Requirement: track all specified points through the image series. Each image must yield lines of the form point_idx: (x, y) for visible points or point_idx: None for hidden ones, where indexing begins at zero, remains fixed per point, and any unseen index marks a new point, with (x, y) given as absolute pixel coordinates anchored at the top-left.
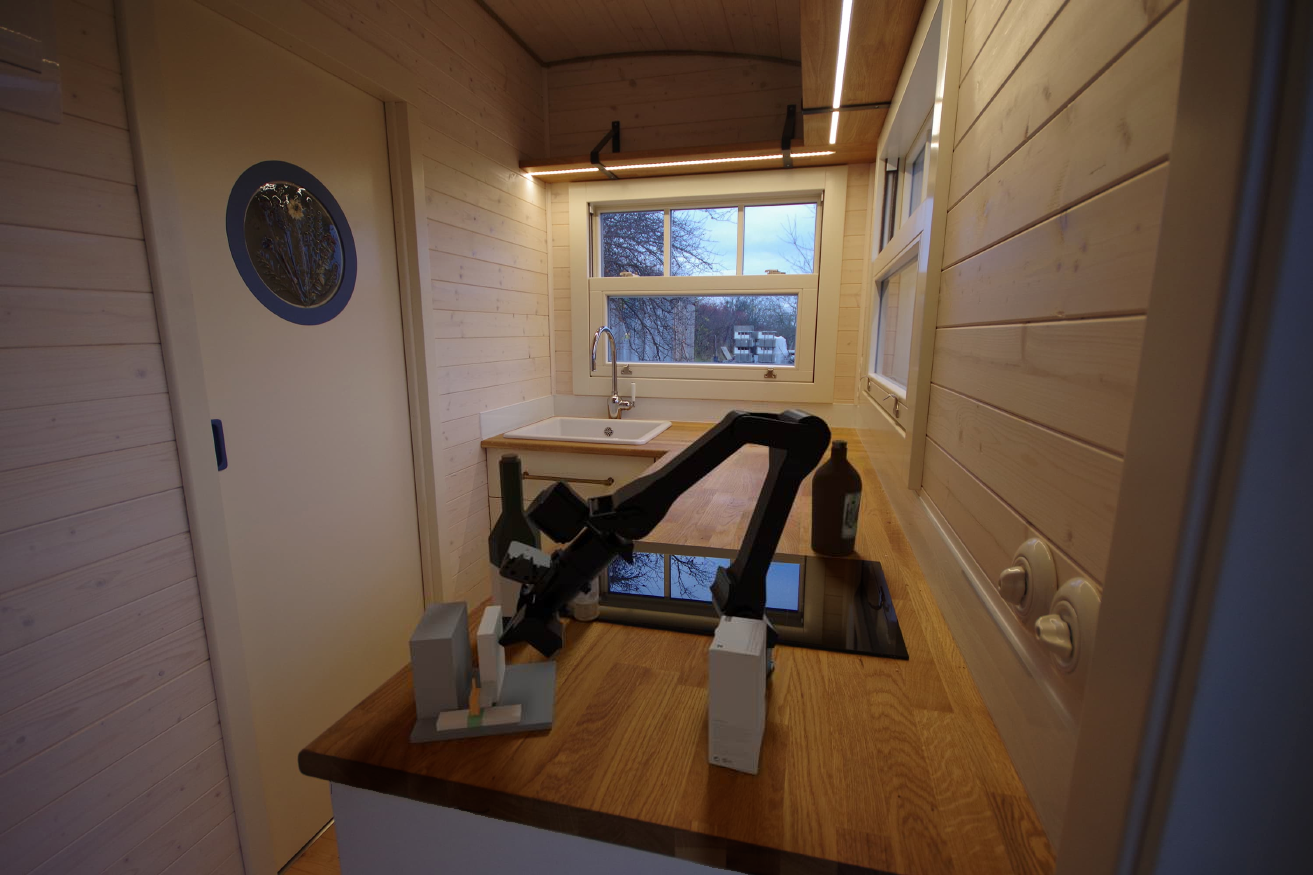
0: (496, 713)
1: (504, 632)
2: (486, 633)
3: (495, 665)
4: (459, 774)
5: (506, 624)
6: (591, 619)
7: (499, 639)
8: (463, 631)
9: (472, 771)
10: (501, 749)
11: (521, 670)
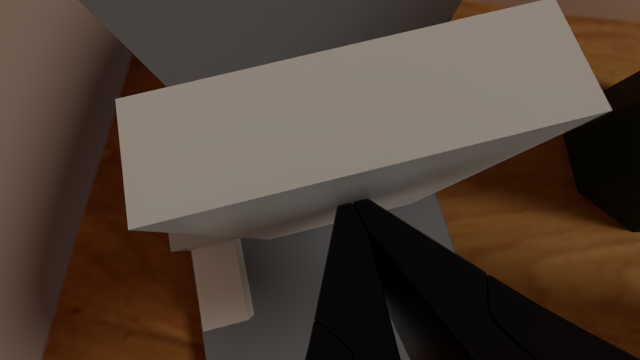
0: (208, 260)
1: (361, 237)
2: (129, 171)
3: (239, 236)
4: (90, 229)
5: (614, 126)
6: None
7: (354, 205)
8: (364, 2)
9: (96, 254)
10: (155, 295)
11: None
